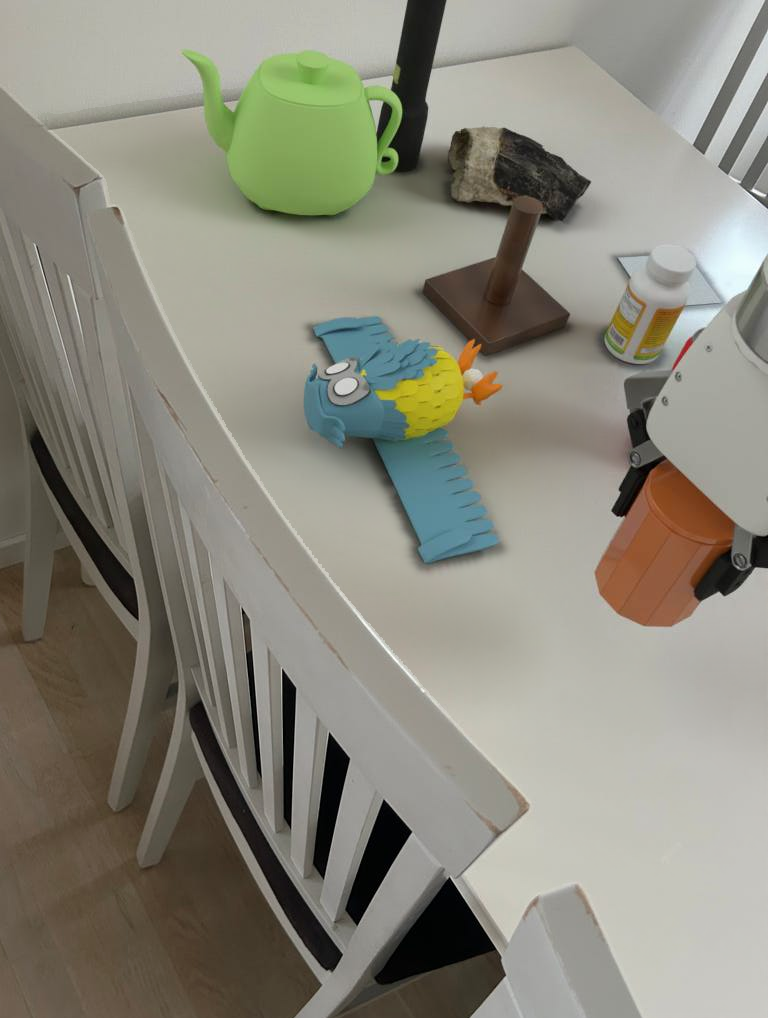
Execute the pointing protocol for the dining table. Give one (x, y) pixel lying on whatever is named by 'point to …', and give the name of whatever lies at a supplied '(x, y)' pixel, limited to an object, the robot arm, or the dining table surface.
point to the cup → (663, 550)
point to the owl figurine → (405, 424)
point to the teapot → (301, 132)
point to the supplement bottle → (651, 305)
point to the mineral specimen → (511, 171)
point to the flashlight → (413, 79)
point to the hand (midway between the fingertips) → (671, 546)
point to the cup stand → (500, 290)
